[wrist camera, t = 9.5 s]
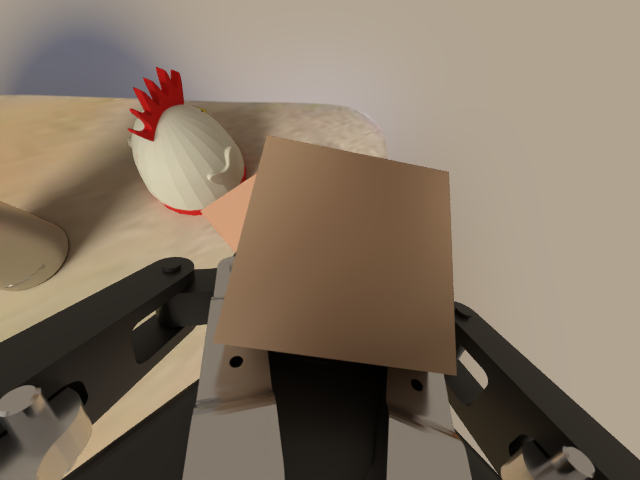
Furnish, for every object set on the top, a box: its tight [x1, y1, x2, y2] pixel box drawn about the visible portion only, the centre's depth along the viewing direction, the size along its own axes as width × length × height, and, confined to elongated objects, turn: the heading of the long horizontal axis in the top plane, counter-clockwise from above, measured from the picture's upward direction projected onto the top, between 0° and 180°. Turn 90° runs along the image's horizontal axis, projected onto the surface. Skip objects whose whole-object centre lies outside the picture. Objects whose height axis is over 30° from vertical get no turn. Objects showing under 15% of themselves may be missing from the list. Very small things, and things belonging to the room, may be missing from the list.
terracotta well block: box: [200, 173, 257, 252], centre depth 32 cm, size 15×15×7 cm
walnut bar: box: [213, 135, 457, 376], centre depth 12 cm, size 4×4×14 cm
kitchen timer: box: [127, 67, 246, 215], centre depth 30 cm, size 14×14×15 cm
